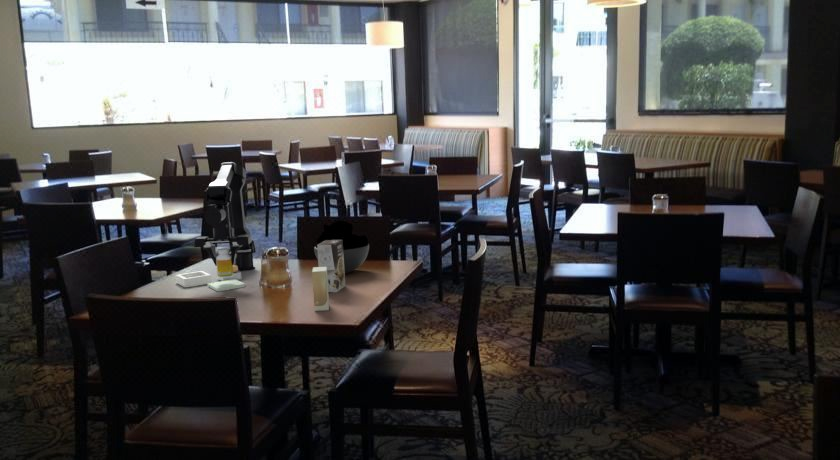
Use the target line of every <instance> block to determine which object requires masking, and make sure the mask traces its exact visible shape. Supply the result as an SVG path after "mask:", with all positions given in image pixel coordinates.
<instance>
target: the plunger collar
mask: <svg viewBox="0 0 840 460" xmlns="http://www.w3.org/2000/svg"><path fill="white" fill-rule="evenodd" d="M216 277H217V280H219V282H221V281H227V280H233V279H236V280H238V281H240V280H242V272H241V271H239V270H238V271H236V272H234V273H233V277H230V278H218V276H216Z"/></svg>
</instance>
